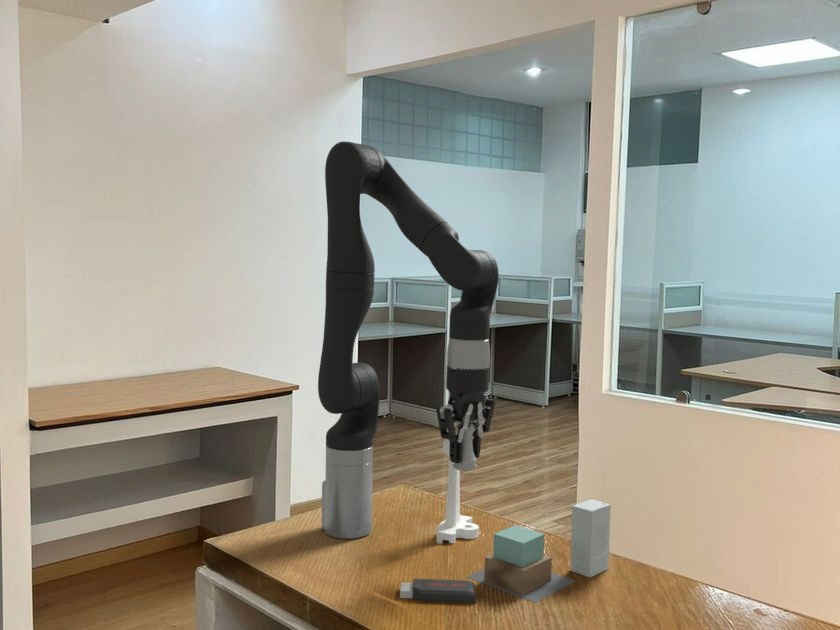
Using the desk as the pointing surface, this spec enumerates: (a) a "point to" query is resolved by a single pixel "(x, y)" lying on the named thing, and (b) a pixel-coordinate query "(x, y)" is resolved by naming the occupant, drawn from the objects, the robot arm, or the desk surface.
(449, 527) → the white ball-topped post
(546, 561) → the walnut block
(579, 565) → the skincare box
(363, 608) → the desk surface
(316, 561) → the desk surface
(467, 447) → the rook chess piece
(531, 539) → the teal block
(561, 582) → the mat
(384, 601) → the desk surface
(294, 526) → the desk surface
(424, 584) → the usb drive
